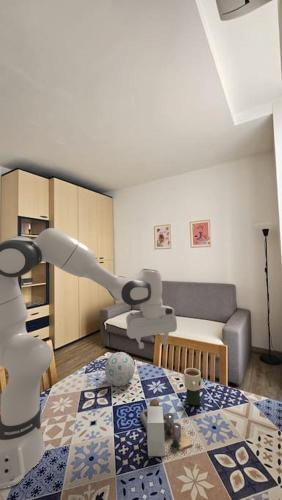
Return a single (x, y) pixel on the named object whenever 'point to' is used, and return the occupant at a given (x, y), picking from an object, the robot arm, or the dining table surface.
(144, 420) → the grey partly piece
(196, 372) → the character mug
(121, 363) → the puzzle ball
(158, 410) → the small box
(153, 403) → the dowel
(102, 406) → the dining table surface
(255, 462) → the dining table surface
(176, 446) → the dogs
